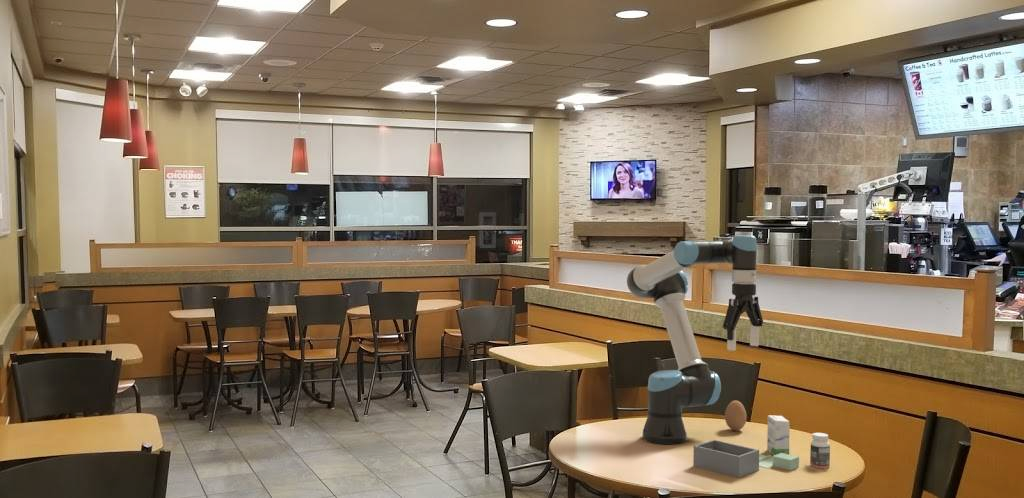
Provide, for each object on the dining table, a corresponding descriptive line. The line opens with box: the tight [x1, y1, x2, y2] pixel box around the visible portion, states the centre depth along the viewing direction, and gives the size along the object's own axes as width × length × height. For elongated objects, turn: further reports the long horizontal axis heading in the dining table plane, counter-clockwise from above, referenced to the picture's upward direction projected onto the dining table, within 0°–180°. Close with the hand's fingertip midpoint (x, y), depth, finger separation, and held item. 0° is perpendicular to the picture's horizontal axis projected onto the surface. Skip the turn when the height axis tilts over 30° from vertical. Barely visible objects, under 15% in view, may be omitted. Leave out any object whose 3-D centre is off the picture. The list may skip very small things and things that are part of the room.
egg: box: [724, 400, 747, 432], centre depth 308 cm, size 8×8×11 cm
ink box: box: [766, 414, 791, 456], centre depth 278 cm, size 8×5×12 cm, turn 0°
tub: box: [692, 439, 760, 479], centre depth 259 cm, size 16×11×7 cm
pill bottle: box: [809, 432, 831, 469], centre depth 264 cm, size 6×6×10 cm
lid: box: [759, 453, 800, 471], centre depth 267 cm, size 23×12×4 cm, turn 43°
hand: (743, 348), depth 276 cm, fingers open, 13 cm apart
